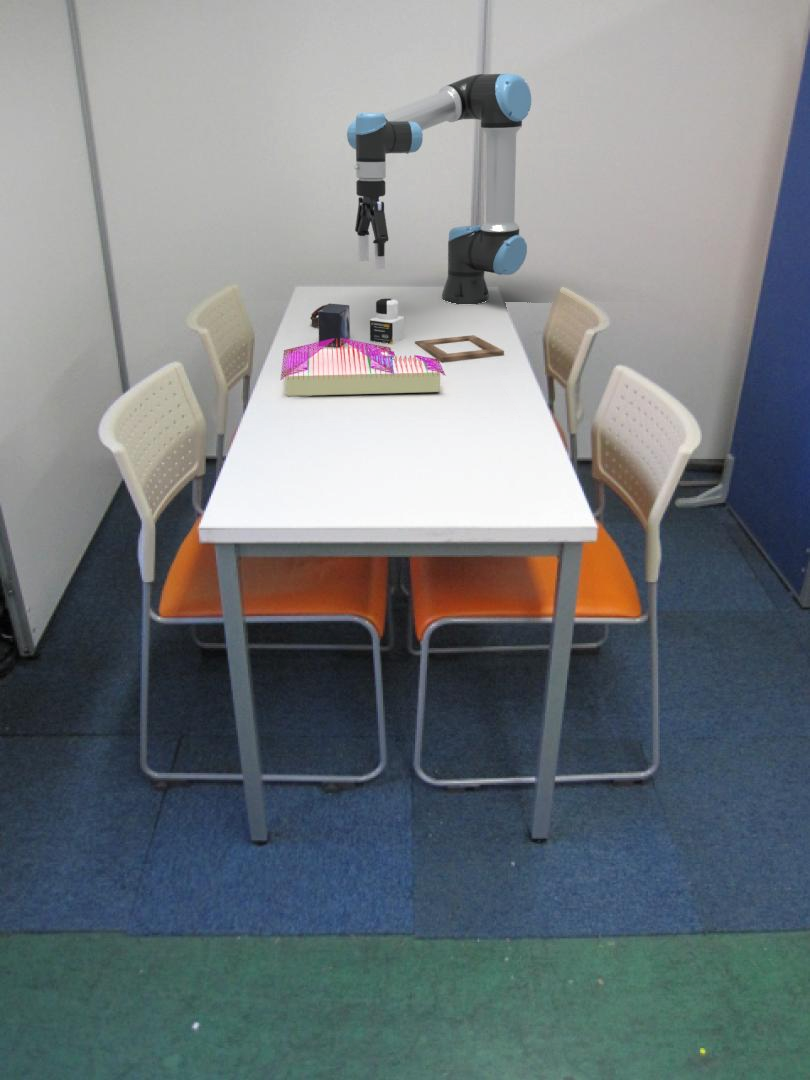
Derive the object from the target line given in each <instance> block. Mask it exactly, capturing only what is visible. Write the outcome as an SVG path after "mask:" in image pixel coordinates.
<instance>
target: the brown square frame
mask: <svg viewBox="0 0 810 1080" xmlns="http://www.w3.org/2000/svg"><path fill="white" fill-rule="evenodd" d="M463 342H470V343H471V344H473V345H475V346H477V347H478V348H480V349H477V350H471V351H470V350H469V351H462V352H461V351H460V352H451V353H447V352H445V351H444V350H442V349H440V348H439V347H437V346H436V345H443V344H452V343H463ZM414 345H416V346H417V347H419V348H421V349H422V350H424V352H426V353H427V354H429V355H430V356H432V358H433V359H439V362H440V364H442V363H452V362H458V361H459V362H460V361H469V360H475V359H484V358H485V359H486V358H492V357H500V356H501V357H502V356H504V355H505V350H504V349H501V348H499V347H497V346H495V345H493V344H492V343H490V342H488V341H486V340H484V339H482V338H481V337H478V336H477V335H473V334H472V335H463V336H462V335H461V336H451V337H444V338H443V337H442V338H434V339H433V338H432V339H424V340H423V339H422V340H414Z"/></svg>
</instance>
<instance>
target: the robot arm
mask: <svg viewBox="0 0 810 1080" xmlns="http://www.w3.org/2000/svg"><path fill="white" fill-rule="evenodd" d="M531 106H532V93H531V90H530V86H529V85H528V83H527V82H526V81H525V79H524V78H523V77H522V76H521V75H519V74H515V73H506V72H505V73H491V74H490V73H486V74H483V73H479V74H474V75H469V76H467V77H465V78H461V79H459V80H457V81H454V82H452V83H450V84H447V85H445V86H442V87H441V88H440V89H439V91H438V92H437V93H435V94H432V95H430V96H427V97H424V98H422V99H419V100H415V101H413V102H411V103H408V104H406V105H404V106H400V107H397V108H395V109H393V110H390V111H387V112H385V113H382V112H359V113H357V115H356V117H355V120H354V121H352V122H351V123H350V124H349V125H348V127H347V131H346V139H347V142H348V144H349V146H350V147H351V148H352V149H354V150H355V157H356V158H355V161H356V163H355V164H356V165H354V170H356V173H355V175H356V176H355V177H356V178H357V180H356V181H355V183H356V188H355V189H356V192H355V193H356V195H357V196H358V207H357V213H356V214H357V215H356V221H355V228H354V231H355V233H357V239H358V241H357V243H358V244H357V245H358V246H357V249H358V251H357V252H358V253H357V254H358V258H357V259H358V262H368V261H369V260H370V259H369V258H370V257H369V254H370V253H369V252H370V251H369V249H370V248H369V246H370V245H369V243H370V241H369V239H370V238H369V236H370V230H369V228H370V224H371V229H372V232H373V236H374V237H373V238H374V239H373V241H372V243H373V250H374V251H373V261H374V262H373V267H374V269H373V270H385V269H386V243H387V242H389V233H388V227H387V221H386V214H385V213H386V212H385V202H384V201H380V197H384V196H385V195H386V181H385V178H386V175H387V170H386V167H387V165H386V164H387V163H386V155H387V154H410V153H416V152H417V151H419V150H420V148H421V147H422V144H423V135H424V134H423V131H424V130H427V129H429V128H432V127H435V126H437V125H439V124H443V123H445V122H448V123H455V122H457V121H460V120H461V121H463V120H480V129H481V130H482V131H483V132H484V133H485V143H486V144H485V146H486V147H485V222H484V223H483V224H477V225H464V226H456V227H452V228H451V229H450V230H449V232H448V241H447V278H446V281H445V284H444V287H443V291H442V294H441V300H442V299H443V300H445V301H448V302H451V303H450V304H452V303H456V304H455V305H459V304H476V305H479V304H478V303H482V302H485V301H487V300H488V299H490V298H489V297H490V294H489V290H488V285H487V283H486V279H485V272H486V273H490V274H491V273H492V274H496V275H499V276H501V275H502V276H503V275H504V276H510V275H514V274H515V273H517V271H519V270H520V269H521V267H522V266H523V265H524V262H525V260H526V257H527V253H528V246H527V245H528V244H527V242H526V240H525V238H524V237H522V236H521V235H520V226H519V225H518V223H517V222H516V221H515V208H516V207H515V205H516V204H515V203H516V166H517V165H516V164H517V162H516V159H517V133H518V132H519V131H520V129H521V128H522V126H523V120H525V119H526V118H527V117H528V115H529V112H530V110H531ZM443 300H442V301H443ZM445 301H444V302H445ZM488 301H489V300H488ZM488 301H487V302H488ZM448 302H447V303H448ZM482 304H483V303H482Z"/></svg>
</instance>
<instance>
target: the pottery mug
mask: <svg viewBox="0 0 810 1080" xmlns="http://www.w3.org/2000/svg"><path fill="white" fill-rule="evenodd" d="M328 304H329V303H327V304H324V305H322V306H320V307H318V308H317V309H315V310H314V311H313V312H312V313H311V316H310V317H309V319H310V320H311V327H313V328H319V327H318V311H319V310H321V309H322V308H323V307H325V306H326V305H328Z"/></svg>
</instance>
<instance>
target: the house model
mask: <svg viewBox="0 0 810 1080" xmlns="http://www.w3.org/2000/svg"><path fill="white" fill-rule="evenodd" d="M341 339H342V340H344V341H345V342H346V343H347V346H350V347H347V348H345V346H346V345H345V344H344V341H343V346H342V347H341V340H340V348H337V342H336V348H334V347H331V348H329V347H328V345H327V344H329V343H330V342H331V341H333V340H334V339H329V342H328V340H325V341H321V342H322V343H321V342H319V341H317V342H313V343H308V344H304V345H299V346H295V347H292V348H288V349H284V350H283V356H282V364H281V365H282V367H281V373H280V379H279V380H280V381H282V380H284V378H285V383H286V384H285V385H286V386H285V387H286V397H294V396H296V397H299V396H305V397H306V396H329V395H330V396H332V395H333V396H335V395H338V396H339V395H363V394H364V395H370V394H371V395H372V394H375V395H377V394H405V393H408V394H409V393H411V394H412V393H440V391H441V375H442V376H445V377H447V374H445V371H444V369H443V366H442V363H441V362H440V361H439V359H436V358H434V357H428V356H422V355H416V354H414V357H413V358H412V356H411V355H412V354H410V355H409V357H408V359H407V355H406V354H405V356H404V358H403V359H402V355H400V356H399V358H398V359H397V355H395V354H396V353H395V351H393V350H392V348H391V347H389V346H384V345H379V344H378V345H377V344H374V343H367V342H364V341H363V342H362V341H359V340H353V339H349V340H348V339H343V338H341ZM330 340H331V341H330ZM326 341H327V343H326ZM319 343H320V344H319ZM324 343H325V344H326V345H327V347H325V346H326V345H325V344H324ZM320 345H321V346H320ZM323 346H324V347H323Z"/></svg>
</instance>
